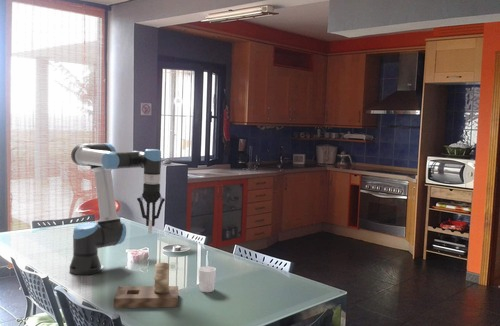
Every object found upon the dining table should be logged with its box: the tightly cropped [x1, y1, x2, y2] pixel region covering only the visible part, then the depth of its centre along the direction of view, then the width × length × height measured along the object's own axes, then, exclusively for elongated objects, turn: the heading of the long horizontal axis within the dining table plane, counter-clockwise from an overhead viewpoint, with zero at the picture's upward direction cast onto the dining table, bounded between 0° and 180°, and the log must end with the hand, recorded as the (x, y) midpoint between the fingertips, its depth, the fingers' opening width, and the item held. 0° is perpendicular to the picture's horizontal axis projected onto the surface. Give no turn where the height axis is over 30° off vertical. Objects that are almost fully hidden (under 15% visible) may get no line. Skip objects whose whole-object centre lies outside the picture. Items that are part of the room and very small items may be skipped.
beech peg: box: [154, 262, 170, 295], centre depth 213 cm, size 6×6×16 cm
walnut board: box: [113, 285, 179, 309], centre depth 213 cm, size 26×14×4 cm, turn 97°
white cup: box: [198, 265, 217, 293], centre depth 229 cm, size 8×8×10 cm
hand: (150, 232), depth 231 cm, fingers closed
